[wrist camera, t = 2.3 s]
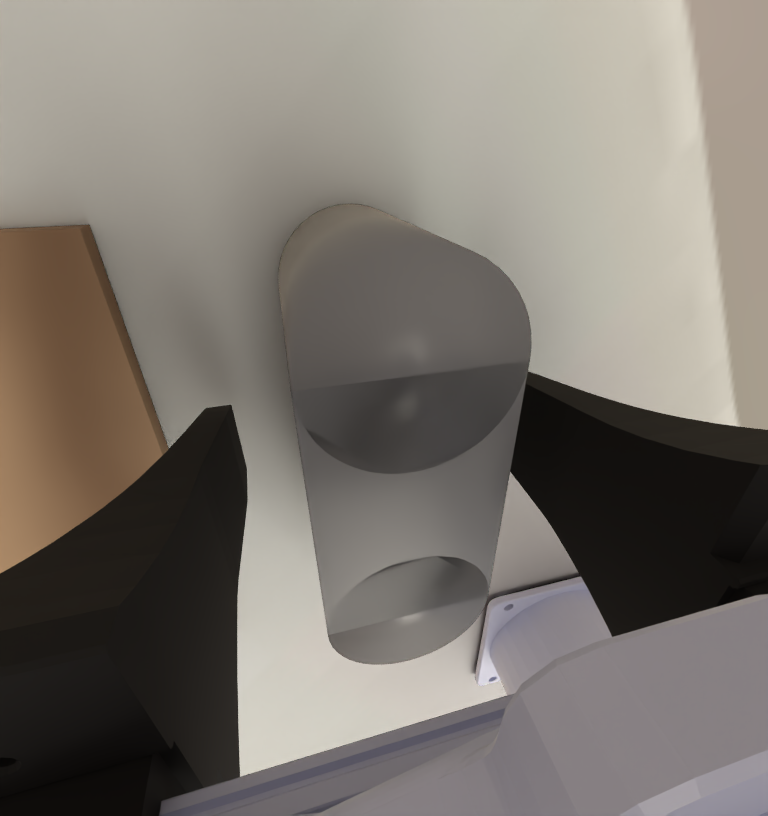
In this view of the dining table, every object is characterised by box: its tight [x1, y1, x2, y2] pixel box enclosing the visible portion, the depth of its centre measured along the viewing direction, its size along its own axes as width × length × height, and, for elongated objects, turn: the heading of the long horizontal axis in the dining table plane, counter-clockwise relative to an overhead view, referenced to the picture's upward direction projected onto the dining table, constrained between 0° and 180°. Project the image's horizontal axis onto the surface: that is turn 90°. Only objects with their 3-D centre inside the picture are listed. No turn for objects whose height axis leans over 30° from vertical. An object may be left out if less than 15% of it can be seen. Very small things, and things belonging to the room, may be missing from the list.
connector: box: [278, 204, 531, 664], centre depth 11 cm, size 4×12×6 cm, turn 2°
